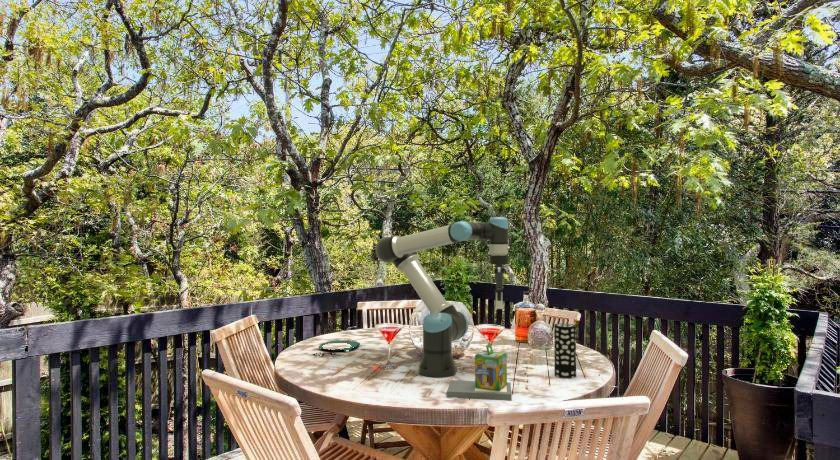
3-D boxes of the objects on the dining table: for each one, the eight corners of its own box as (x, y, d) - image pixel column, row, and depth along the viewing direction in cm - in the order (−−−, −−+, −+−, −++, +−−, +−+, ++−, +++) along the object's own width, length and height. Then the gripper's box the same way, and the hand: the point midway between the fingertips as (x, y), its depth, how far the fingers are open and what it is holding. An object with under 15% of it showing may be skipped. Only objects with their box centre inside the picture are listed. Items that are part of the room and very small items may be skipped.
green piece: (365, 345, 261) (365, 340, 261) (341, 360, 232) (341, 355, 232) (330, 343, 266) (329, 339, 266) (302, 358, 237) (302, 353, 237)
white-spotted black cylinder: (564, 379, 198) (564, 327, 198) (550, 374, 205) (549, 324, 206) (580, 376, 202) (580, 326, 202) (565, 371, 209) (565, 322, 209)
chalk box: (499, 391, 175) (498, 348, 175) (474, 387, 180) (474, 345, 180) (507, 384, 183) (507, 343, 184) (484, 381, 188) (483, 340, 188)
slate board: (447, 397, 177) (446, 390, 177) (450, 385, 191) (450, 379, 191) (511, 400, 173) (511, 393, 173) (510, 387, 187) (510, 381, 187)
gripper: (508, 256, 197) (509, 311, 197) (507, 253, 222) (507, 302, 222) (489, 255, 198) (489, 310, 198) (490, 253, 223) (490, 302, 223)
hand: (499, 306), depth 210 cm, fingers open, 13 cm apart
